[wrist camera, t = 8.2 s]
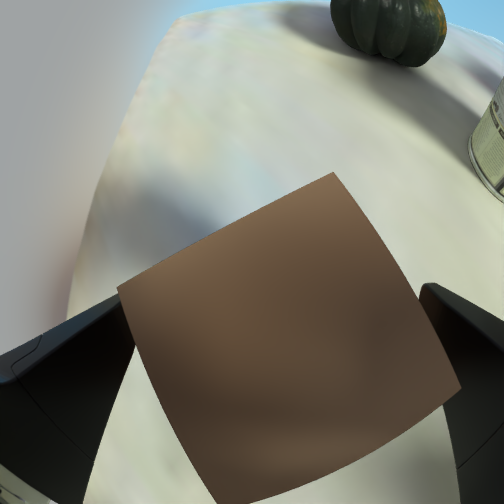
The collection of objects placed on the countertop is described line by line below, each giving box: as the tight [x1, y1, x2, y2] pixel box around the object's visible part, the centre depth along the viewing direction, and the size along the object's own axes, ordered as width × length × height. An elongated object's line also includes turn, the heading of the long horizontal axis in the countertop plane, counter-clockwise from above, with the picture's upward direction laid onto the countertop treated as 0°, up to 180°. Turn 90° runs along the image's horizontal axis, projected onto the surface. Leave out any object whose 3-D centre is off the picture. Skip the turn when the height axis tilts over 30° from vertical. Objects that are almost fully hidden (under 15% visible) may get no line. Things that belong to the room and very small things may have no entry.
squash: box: [330, 0, 447, 67], centre depth 23 cm, size 14×15×15 cm
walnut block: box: [117, 172, 461, 504], centre depth 11 cm, size 5×5×12 cm
